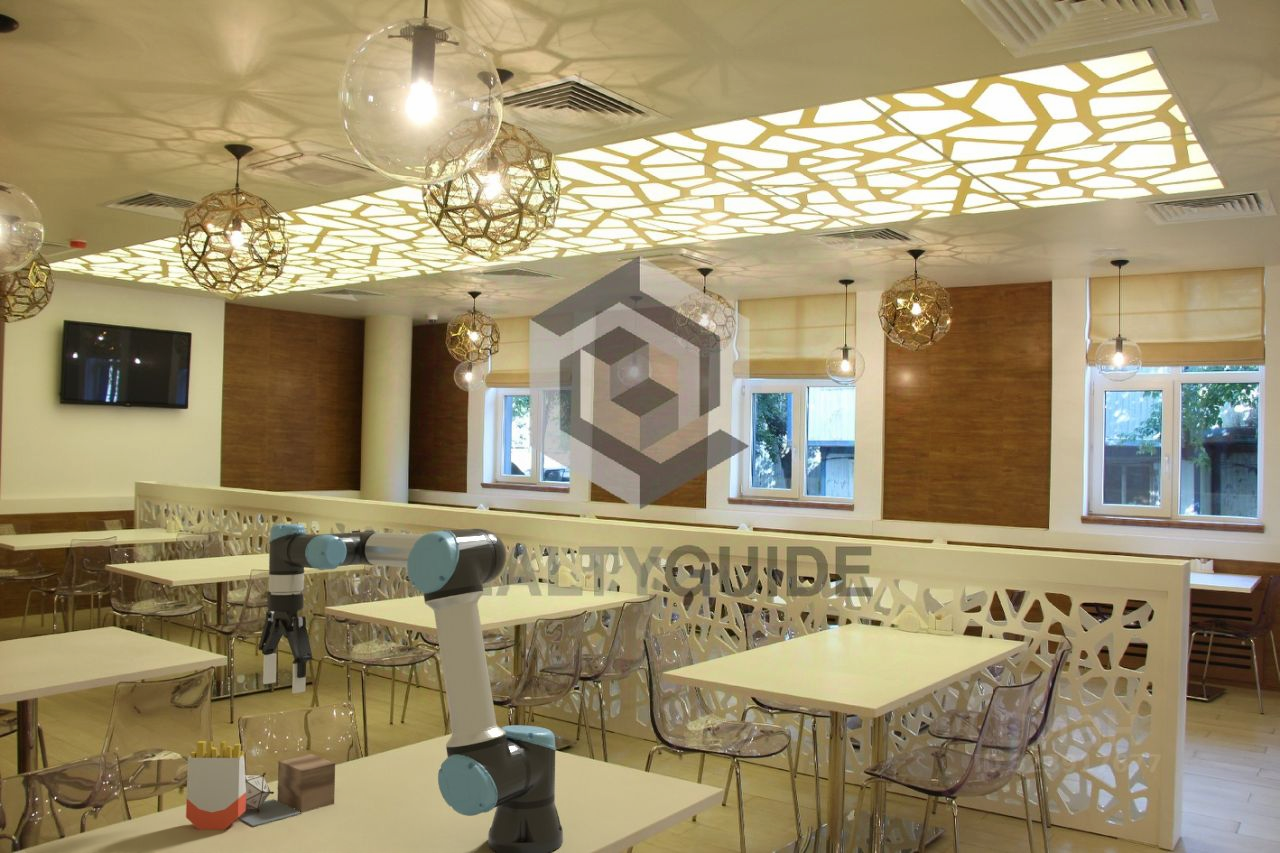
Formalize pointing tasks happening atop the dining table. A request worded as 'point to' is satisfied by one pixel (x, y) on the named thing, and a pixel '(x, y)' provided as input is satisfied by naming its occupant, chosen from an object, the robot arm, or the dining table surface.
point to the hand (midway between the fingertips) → (283, 687)
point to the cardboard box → (306, 782)
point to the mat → (267, 813)
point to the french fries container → (215, 786)
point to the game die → (256, 791)
